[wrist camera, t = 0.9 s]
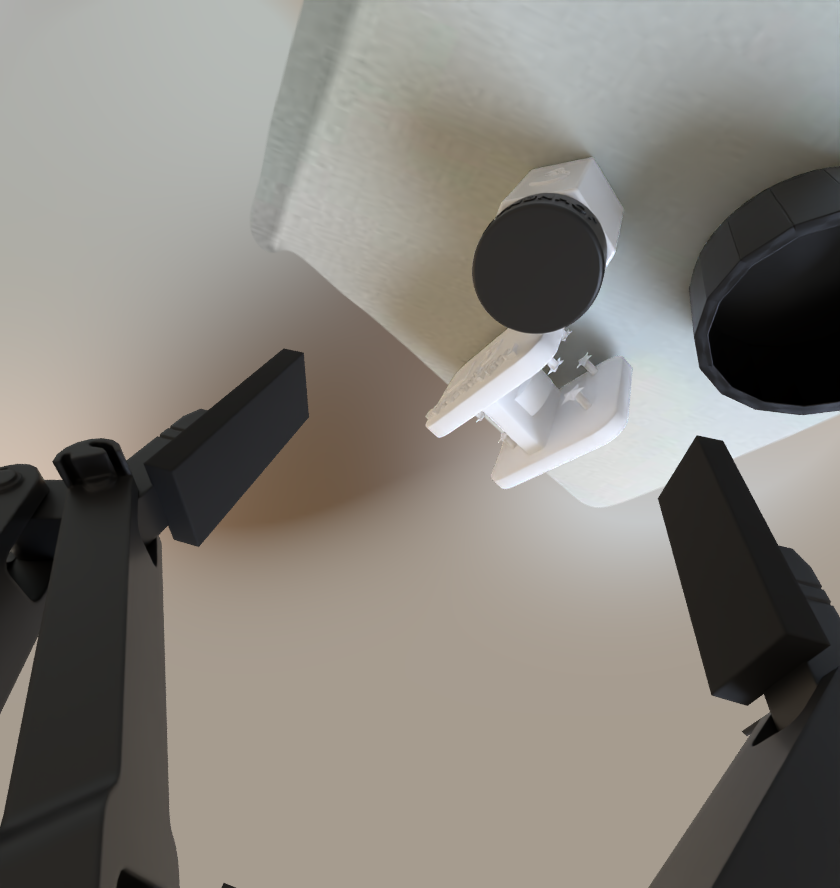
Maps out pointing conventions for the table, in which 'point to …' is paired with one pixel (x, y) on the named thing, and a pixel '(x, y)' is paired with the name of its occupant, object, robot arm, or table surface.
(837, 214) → the pot
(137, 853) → the robot arm
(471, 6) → the table surface
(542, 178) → the jar
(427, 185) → the table surface
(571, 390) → the cable organizer
